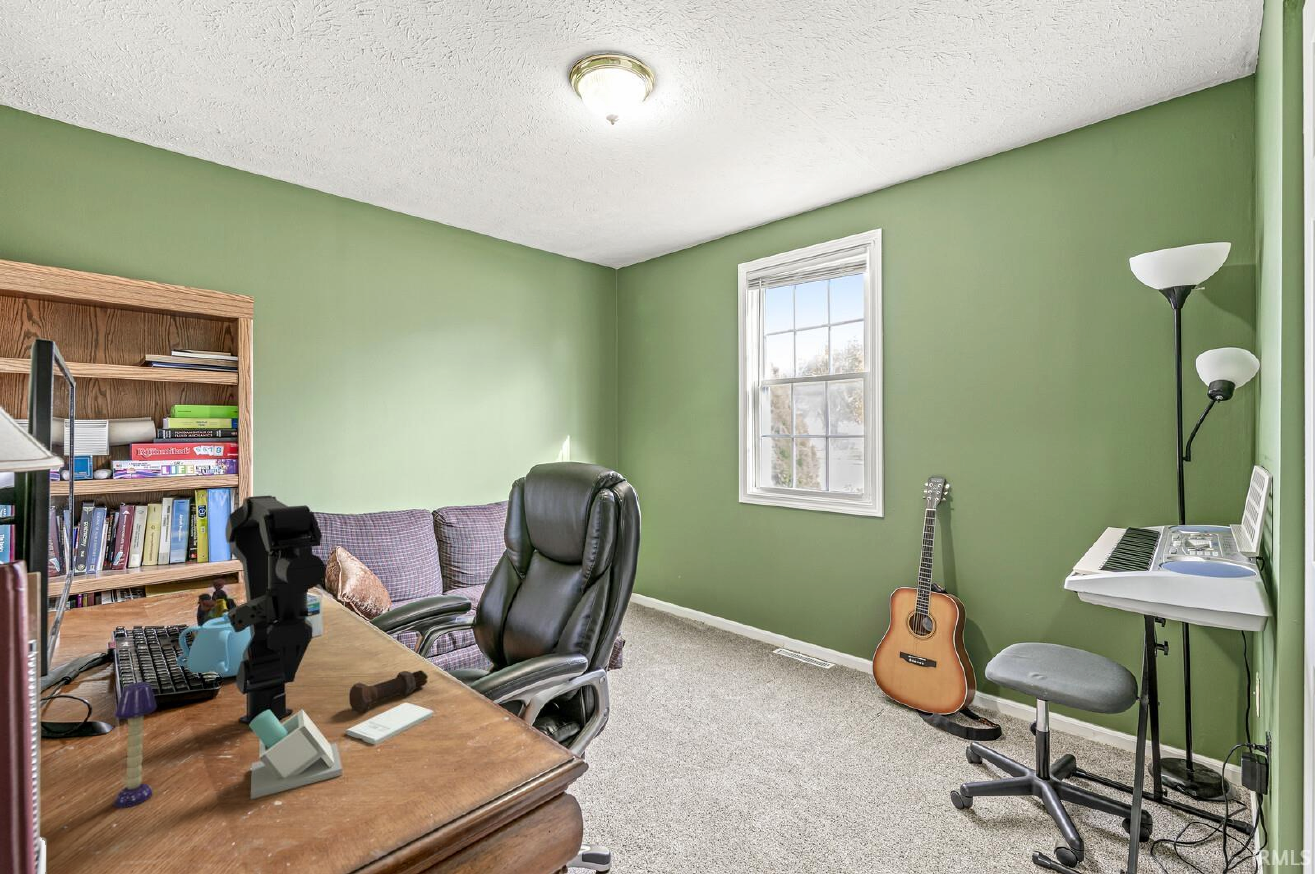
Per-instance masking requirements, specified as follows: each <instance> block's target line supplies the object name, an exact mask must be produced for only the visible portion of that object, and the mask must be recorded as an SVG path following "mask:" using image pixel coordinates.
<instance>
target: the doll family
mask: <svg viewBox="0 0 1315 874" xmlns="http://www.w3.org/2000/svg"><path fill="white" fill-rule="evenodd" d="M225 583H226V580H225V579H223V578H217V579H214V580H212V584H211V585H213V586H212V587H213V589H214V590H215V591H213V592H212V596H211V595H210V593H201V594H200V595H198V596H197V597H198V601H197V600H196V599H195V600H194V601H195V602H197V603H196V604H197V605H198V607H197V611H196V622H197V626H201V627H202V625H203V624H204V623H206V622H207V621H209V620H212V619H216V618H221V617H223V616H222V614H223V613H225V612H228V611H229V610H231V609H232V608H234V607H237V606H239V605H238V604H237V603H236V602H235V600H236V599H238V596H236V597H229V594H227V592H226V591H225V590H223V588H225V587H224V586H225ZM234 599H235V600H234ZM198 632H199V631H194V634H193V636H194V635H195V636H194V637H196V635H197V634H198Z"/></svg>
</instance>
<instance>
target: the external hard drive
mask: <svg viewBox="0 0 1315 874" xmlns="http://www.w3.org/2000/svg"><path fill="white" fill-rule="evenodd" d="M432 716H433V717H434V711H433V710H432V709H429V708H425V707H423V706H419V705H416V704H413V703H410V702H402V703H401V704H398V705H397V706H394V707H392V708H390V709H388V710H386V711H383V712H382V713H379V714H377V715H376V716H372V717H371V718H368V719H367V720H364V721H362V722H360V723H358V724H356V725H354V726H352V727H350V728H348V729H345V734H346V735H347V736H350V737H353V738H355V739H360V740H362V741H363V742H366V743H369V744H372V745H374V746H376V744H377V745H378V743H379V744H380V743H382V742H385V741H386V740H388V739H390V738H393V737H395V736H396V734H397V735H398V734H401V733H402V731H403V732H404V730H405V731H407V730H408V729H411V728H413V727H415V726H416V725H418V724H421V723H423V722H425V721H426V720H429V719H431V718H433V717H432ZM424 720H425V721H424ZM412 726H413V727H412Z"/></svg>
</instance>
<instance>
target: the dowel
mask: <svg viewBox="0 0 1315 874" xmlns="http://www.w3.org/2000/svg"><path fill="white" fill-rule="evenodd" d="M248 727H249V728H250V729H251V730H252V732H254V734H255V735H256V736H257V738H259V741H260V740H261V741H262V742H263V743H264V745H265V746H266V747H267V748H268V749H269V748H271V747H272V746H274V745H275V744H276V743H278V742H279V741H280V740H282V739H283V738H285V737H286V736H287V735H289V733H288V732H287V730H286V729H285V728H284V727H283V725H282V723H281V721H280V719H277V718H276V717H275V715H274V714H273V713H272V712H271V710H266V711H264V712H262V713H261V714H259V715H258V716H257V717H255V718H254V719H253V720H252V721H251V723H250V724H248Z"/></svg>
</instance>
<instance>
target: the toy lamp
mask: <svg viewBox="0 0 1315 874" xmlns="http://www.w3.org/2000/svg"><path fill="white" fill-rule="evenodd" d="M157 707H158V706H157V701H156V697H155V695H154V691H153V689H152V686H151V684H150V682H148V681H140V682H134V683H130V684H129V685H126V686H125V687H124V688H123V690H122V693H121V696H120V698H119V702H118V704H117V707H116V710H115V717H116V718H117V719H121V720H122V719H125V720H126V719H127V723H128V726H127V734H128V737H127V740H126V741H127V742H126V743H127V745H128V746H127V749H126V755H127V758H126V766H127V768H126V773H125V774H126V778H127V779H126V781H125V786H126V787H124V788H123V789H122V790H120V792H119V793H117V796H116V797H115V799H114V803H113V805H114V806H115V807H117V808H127V807H131V806H135V805H138V804H141V803H143V802H145V801H147V800H148V799H150V798H151V797H152V795H153V790H152V788H151V786H150V785H148V784H147V783H142V780H143V777H142V775H141V774H142V772H143V766H142V763H143V754H142V753H143V749H144V746H143V743H142V742H143V739H144V734H143V731H144V724H143V721H144V717H145V716H147V715H149V714H151V713H153V712H154V711H156V709H157Z"/></svg>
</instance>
